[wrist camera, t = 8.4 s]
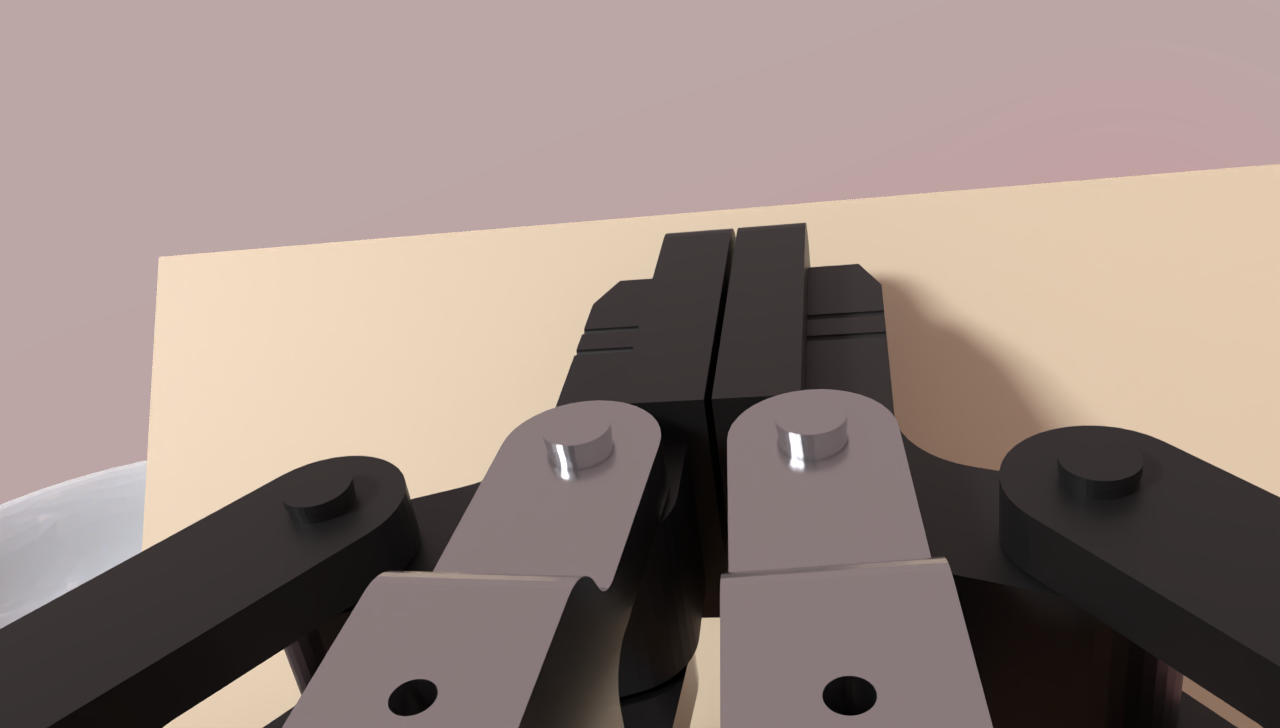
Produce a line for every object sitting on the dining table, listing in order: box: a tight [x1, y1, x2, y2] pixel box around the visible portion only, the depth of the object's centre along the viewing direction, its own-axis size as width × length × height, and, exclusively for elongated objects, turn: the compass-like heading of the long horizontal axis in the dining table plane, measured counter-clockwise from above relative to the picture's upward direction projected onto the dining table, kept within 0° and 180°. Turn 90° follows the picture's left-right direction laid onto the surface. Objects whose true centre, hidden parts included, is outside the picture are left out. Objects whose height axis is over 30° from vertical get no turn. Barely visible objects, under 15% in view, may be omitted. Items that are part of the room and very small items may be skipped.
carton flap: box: [142, 164, 1280, 728], centre depth 13 cm, size 10×14×1 cm
